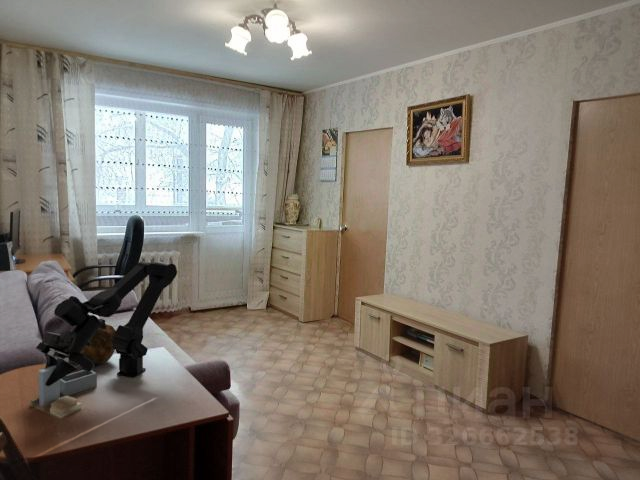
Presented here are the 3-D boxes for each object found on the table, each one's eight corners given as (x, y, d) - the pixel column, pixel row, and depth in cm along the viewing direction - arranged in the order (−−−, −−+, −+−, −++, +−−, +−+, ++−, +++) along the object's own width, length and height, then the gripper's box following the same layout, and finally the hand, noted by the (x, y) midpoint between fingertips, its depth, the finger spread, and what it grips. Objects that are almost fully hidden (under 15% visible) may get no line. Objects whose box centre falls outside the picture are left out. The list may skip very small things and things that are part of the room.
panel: (55, 399, 130) (54, 365, 128) (59, 401, 129) (59, 366, 127) (39, 405, 126) (38, 370, 124) (43, 407, 125) (42, 372, 124)
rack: (53, 396, 132) (53, 385, 132) (84, 410, 126) (84, 398, 125) (28, 406, 126) (27, 394, 126) (59, 421, 120) (59, 409, 119)
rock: (122, 357, 163) (122, 316, 161) (103, 372, 150) (103, 327, 148) (87, 355, 163) (86, 314, 161) (65, 369, 151) (64, 325, 149)
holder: (88, 382, 142) (88, 368, 141) (96, 387, 139) (96, 373, 139) (56, 392, 135) (56, 377, 134) (65, 398, 132) (65, 382, 131)
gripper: (41, 313, 132) (1, 363, 124) (83, 326, 123) (43, 380, 115) (68, 333, 140) (32, 380, 132) (109, 346, 131) (73, 398, 123)
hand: (44, 384), depth 125 cm, fingers closed on panel, 2 cm apart
